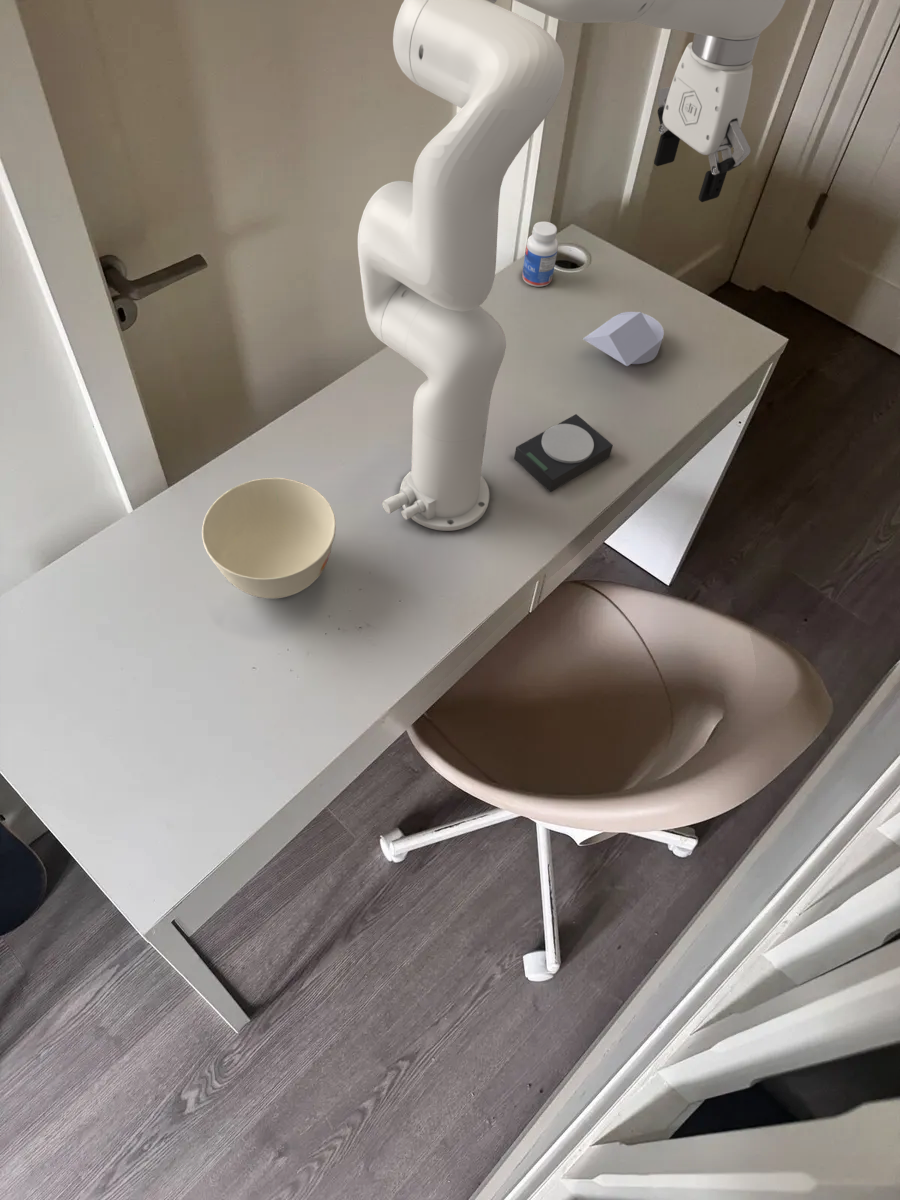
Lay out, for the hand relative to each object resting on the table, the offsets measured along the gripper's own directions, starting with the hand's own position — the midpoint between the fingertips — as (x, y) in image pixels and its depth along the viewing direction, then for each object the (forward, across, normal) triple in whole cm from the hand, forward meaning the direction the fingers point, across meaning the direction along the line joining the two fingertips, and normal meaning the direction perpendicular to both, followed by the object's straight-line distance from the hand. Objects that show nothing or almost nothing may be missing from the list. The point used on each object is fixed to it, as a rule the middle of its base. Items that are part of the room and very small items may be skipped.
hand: (685, 180), depth 118 cm
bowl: (+29, +15, -70) cm, 77 cm away
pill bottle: (+30, -24, -4) cm, 38 cm away
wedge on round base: (+30, -1, -2) cm, 30 cm away
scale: (+29, +14, -25) cm, 41 cm away
